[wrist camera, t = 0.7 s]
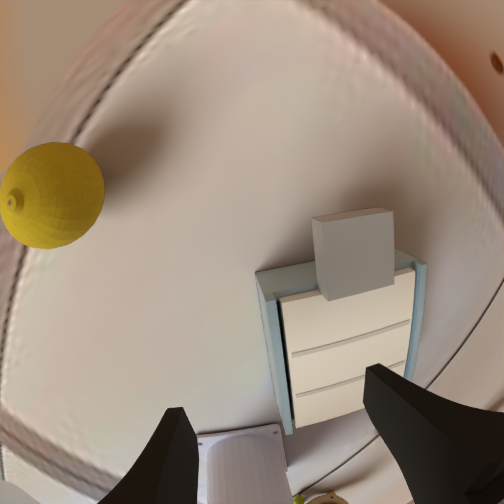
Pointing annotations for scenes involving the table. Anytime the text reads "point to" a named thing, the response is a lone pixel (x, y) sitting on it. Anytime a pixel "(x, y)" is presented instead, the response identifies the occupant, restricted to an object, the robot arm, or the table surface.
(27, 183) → the lemon
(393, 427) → the robot arm
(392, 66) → the table surface
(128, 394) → the table surface
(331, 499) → the bird rattle
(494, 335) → the table surface
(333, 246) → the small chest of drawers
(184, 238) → the table surface
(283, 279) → the tub
